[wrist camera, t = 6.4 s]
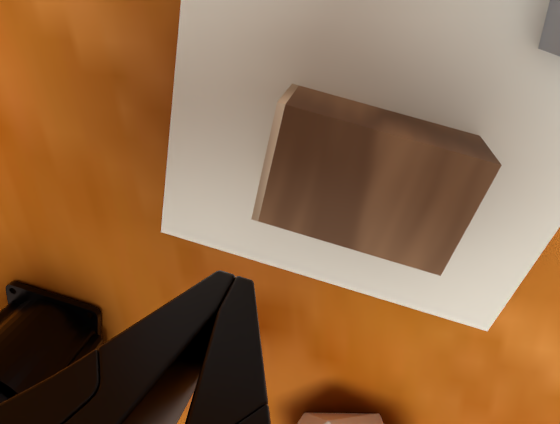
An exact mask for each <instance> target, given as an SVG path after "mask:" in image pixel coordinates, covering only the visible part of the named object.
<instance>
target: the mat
mask: <svg viewBox="0 0 560 424" xmlns="http://www.w3.org/2000/svg"><path fill="white" fill-rule="evenodd" d="M549 2H550V0H181V6H180V18H179V29H178V41H177V52H176V64H175V75H174V87H173V98H172V110H171V121H170V133H169V144H168V156H167V167H166V179H165V190H164V202H163V213H162V225H161V232H162V233H166V234H169V235H172V236H176V237H179V238H182V239H185V240H189V241H192V242H195V243H199V244H202V245H205V246H208V247H212V248H215V249H218V250H222V251H225V252H228V253H231V254H235V255H238V256H241V257H245V258H248V259H251V260H254V261H258V262H261V263H264V264H268V265H271V266H274V267H277V268H281V269H284V270H287V271H291V272H294V273H297V274H300V275H304V276H307V277H310V278H314V279H317V280H320V281H323V282H327V283H330V284H333V285H337V286H340V287H343V288H347V289H350V290H353V291H356V292H360V293H363V294H366V295H370V296H373V297H376V298H379V299H383V300H386V301H389V302H393V303H396V304H399V305H402V306H406V307H409V308H412V309H416V310H419V311H422V312H425V313H429V314H432V315H435V316H439V317H442V318H445V319H448V320H452V321H455V322H458V323H462V324H465V325H468V326H471V327H475V328H478V329H481V330H485V331H488V330H489V328H490V327H491V325H492V324H493V322H494V321H495V320H496V318H497V317H498V315H499V314H500V312H501V311H502V309H503V308H504V307H505V305H506V304H507V302H508V301H509V299H510V298H511V296H512V295H513V294H514V292H515V291H516V289H517V288H518V286H519V285H520V283H521V282H522V281H523V279H524V278H525V276H526V275H527V273H528V272H529V270H530V269H531V268H532V266H533V265H534V263H535V262H536V260H537V259H538V257H539V256H540V254H541V253H542V252H543V250H544V249H545V247H546V246H547V244H548V243H549V241H550V240H551V239H552V237H553V236H554V234H555V233H556V231H557V230H558V228H559V227H560V56H557V55H554V54H551V53H549V52H546V51H543V50H541V49H538V47H539V43H540V39H541V35H542V31H543V27H544V22H545V18H546V14H547V10H548V6H549ZM291 84H296V85H299V86H303V87H306V88H310V89H314V90H317V91H321V92H324V93H328V94H332V95H335V96H339V97H342V98H346V99H350V100H353V101H357V102H360V103H364V104H368V105H371V106H375V107H378V108H382V109H386V110H389V111H393V112H396V113H400V114H404V115H407V116H411V117H414V118H418V119H422V120H425V121H429V122H432V123H436V124H440V125H443V126H447V127H450V128H454V129H458V130H461V131H465V132H468V133H472V134H476V135H479V136H481V138H482V139H483V140H484V142H485V143H486V144H487V146H488V147H489V148H490V150H491V151H492V153H493V154H494V155H495V157H496V158H497V159H498V161H499V162H500V163H501V165H502V166H501V168H500V169H499V171H498V173H497V175H496V177H495V178H494V180H493V182H492V184H491V186H490V188H489V189H488V191H487V193H486V195H485V197H484V198H483V200H482V202H481V204H480V206H479V207H478V209H477V211H476V213H475V215H474V216H473V218H472V220H471V222H470V224H469V226H468V227H467V229H466V231H465V233H464V235H463V236H462V238H461V240H460V242H459V244H458V245H457V247H456V249H455V251H454V253H453V254H452V256H451V258H450V260H449V262H448V264H447V265H446V267H445V269H444V271H443V273H442V274H441V276H439V275H436V274H432V273H429V272H426V271H422V270H419V269H416V268H412V267H409V266H406V265H402V264H399V263H396V262H392V261H389V260H386V259H382V258H379V257H375V256H372V255H369V254H365V253H362V252H359V251H355V250H352V249H349V248H345V247H342V246H339V245H335V244H332V243H329V242H325V241H322V240H319V239H315V238H312V237H308V236H305V235H302V234H298V233H295V232H292V231H288V230H285V229H282V228H278V227H275V226H272V225H268V224H265V223H262V222H258V221H255V220H252V219H251V218H252V214H253V209H254V205H255V200H256V196H257V191H258V186H259V182H260V177H261V173H262V168H263V164H264V159H265V155H266V150H267V146H268V141H269V137H270V132H271V128H272V123H273V119H274V114H275V110H276V105H277V102H278V100H279V99H280V98H281V97H282V95H283V94H284V93H285V92H286V90H287V89H288V88H289V87H290V86H291Z"/></svg>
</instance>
